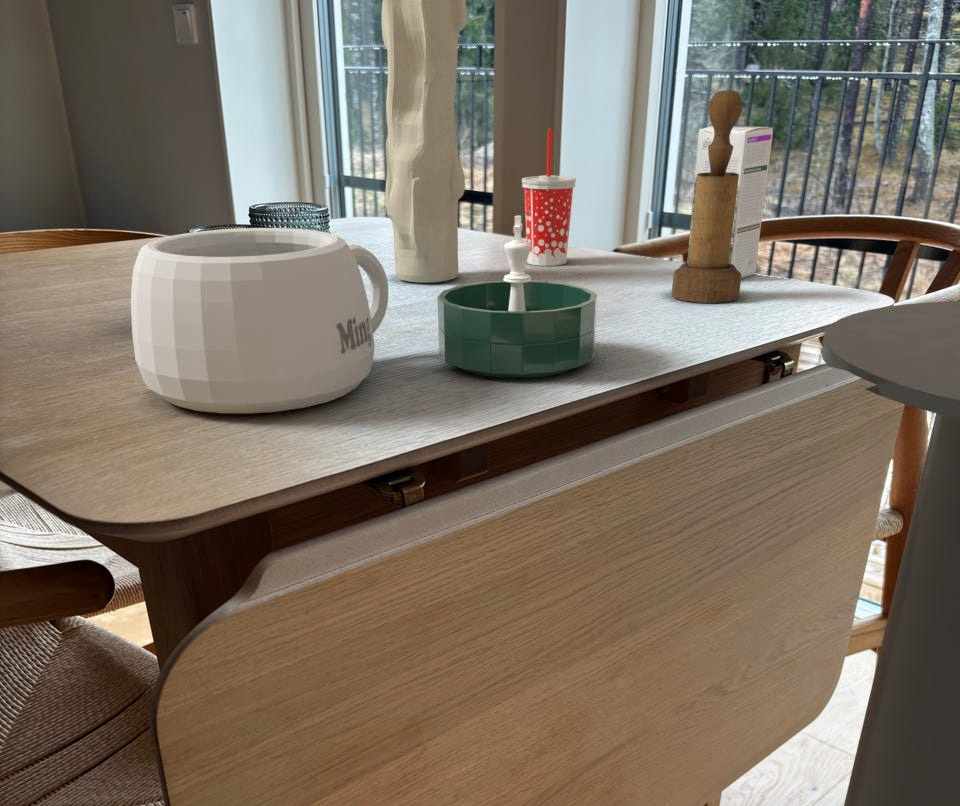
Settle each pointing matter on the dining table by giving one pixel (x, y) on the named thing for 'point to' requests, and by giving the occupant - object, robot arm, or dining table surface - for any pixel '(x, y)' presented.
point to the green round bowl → (517, 329)
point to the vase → (423, 136)
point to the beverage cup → (548, 214)
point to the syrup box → (742, 188)
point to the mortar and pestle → (713, 216)
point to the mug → (254, 318)
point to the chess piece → (517, 267)
